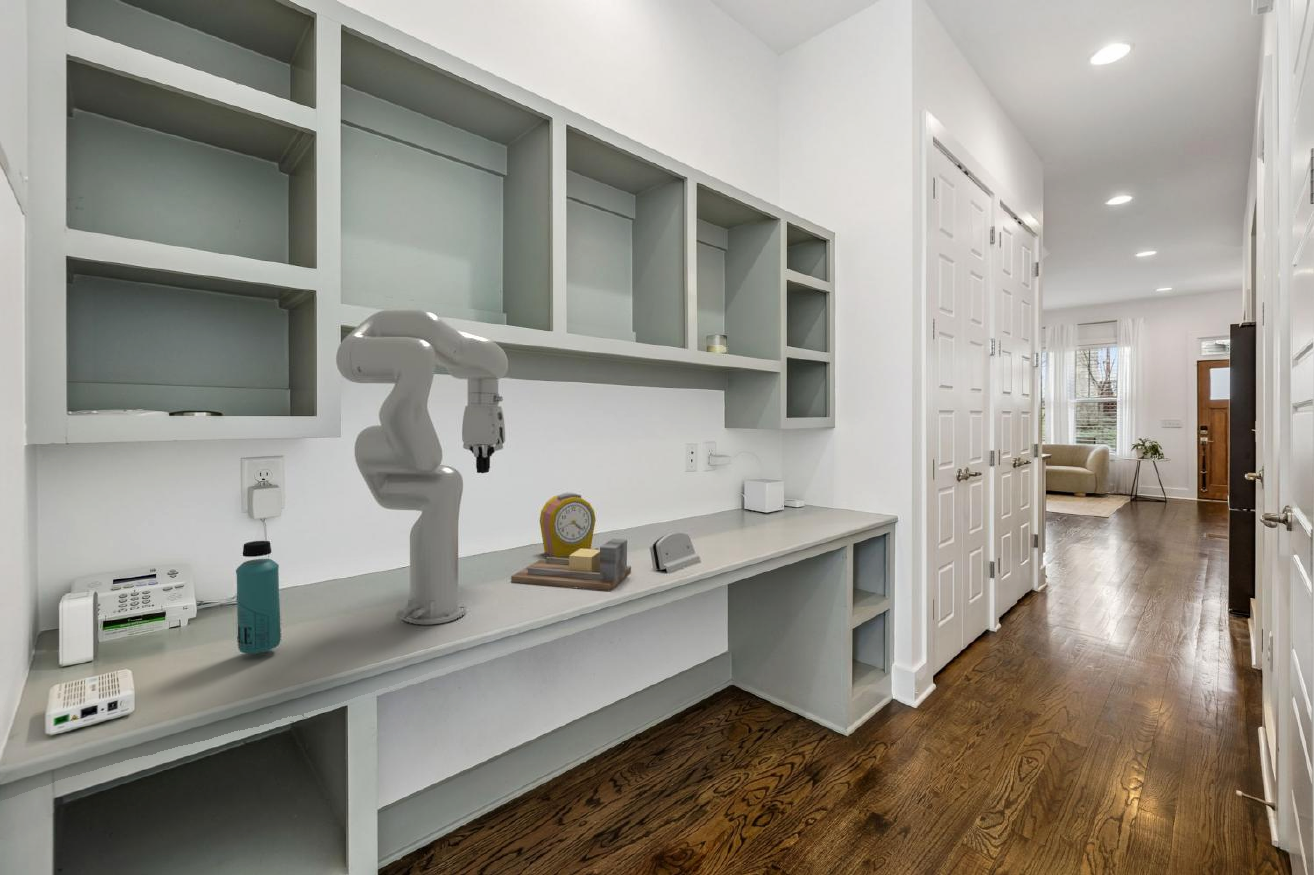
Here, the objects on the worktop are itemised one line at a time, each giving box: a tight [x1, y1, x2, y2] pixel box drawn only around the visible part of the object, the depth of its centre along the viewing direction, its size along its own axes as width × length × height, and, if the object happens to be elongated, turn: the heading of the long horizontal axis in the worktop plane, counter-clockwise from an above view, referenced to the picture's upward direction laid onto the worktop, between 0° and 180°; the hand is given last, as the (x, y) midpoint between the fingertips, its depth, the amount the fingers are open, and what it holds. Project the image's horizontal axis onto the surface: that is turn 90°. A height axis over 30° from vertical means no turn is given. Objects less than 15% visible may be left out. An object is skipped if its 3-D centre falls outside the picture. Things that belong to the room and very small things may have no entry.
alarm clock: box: [539, 492, 597, 558], centre depth 180 cm, size 15×8×18 cm, turn 123°
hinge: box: [649, 532, 702, 574], centre depth 168 cm, size 17×5×10 cm, turn 143°
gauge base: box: [510, 538, 632, 592], centre depth 155 cm, size 18×26×10 cm
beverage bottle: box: [235, 540, 283, 654], centre depth 104 cm, size 6×7×20 cm
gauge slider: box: [568, 547, 600, 573], centre depth 157 cm, size 13×6×5 cm, turn 166°
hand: (483, 472), depth 153 cm, fingers closed
